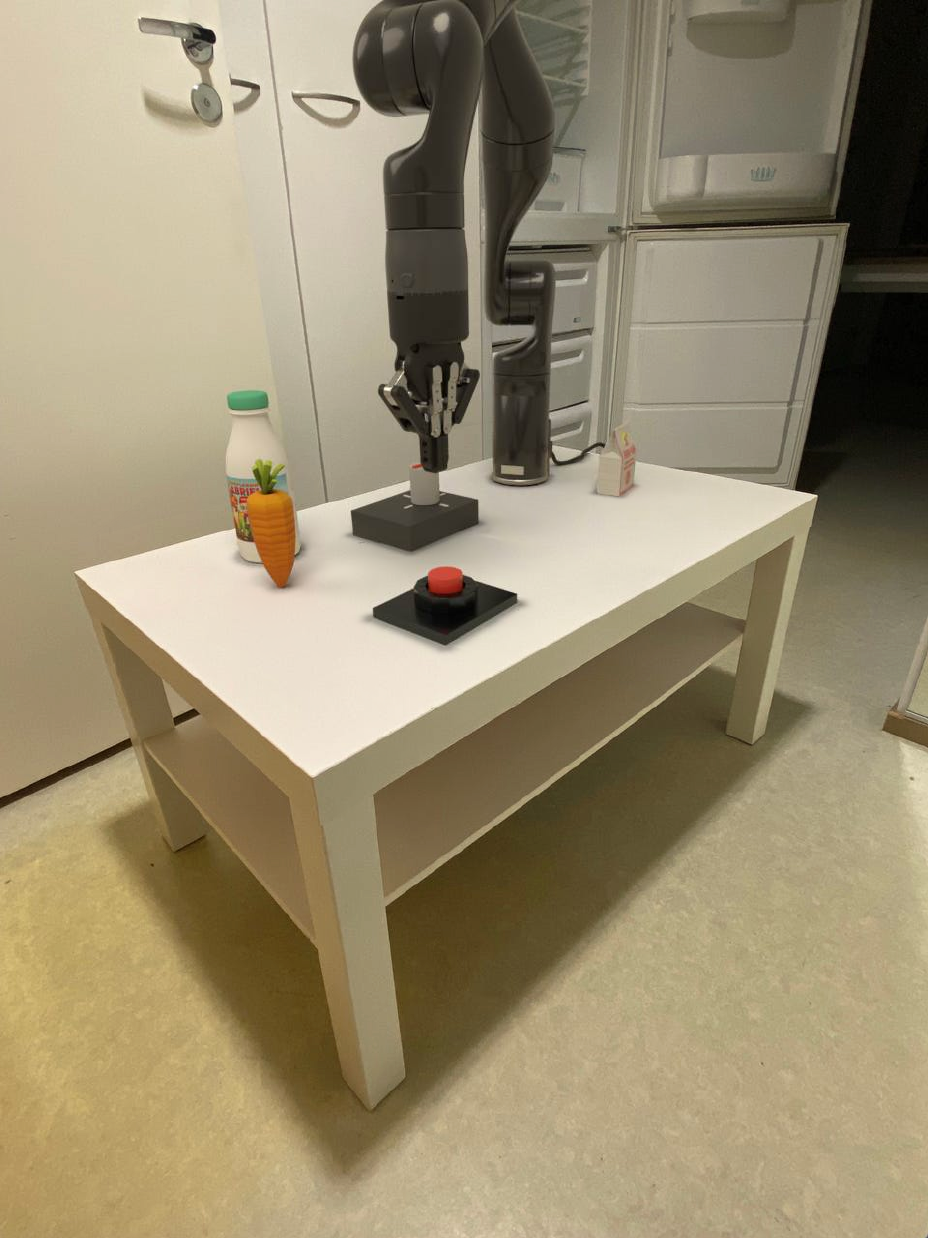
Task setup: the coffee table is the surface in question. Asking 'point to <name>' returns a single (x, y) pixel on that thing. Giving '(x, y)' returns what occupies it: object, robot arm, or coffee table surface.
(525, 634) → the coffee table surface
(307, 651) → the coffee table surface
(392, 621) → the power switch
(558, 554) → the coffee table surface
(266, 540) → the carrot
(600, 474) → the milk carton
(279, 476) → the milk bottle
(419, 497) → the timer knob
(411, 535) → the panel
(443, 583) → the power button
